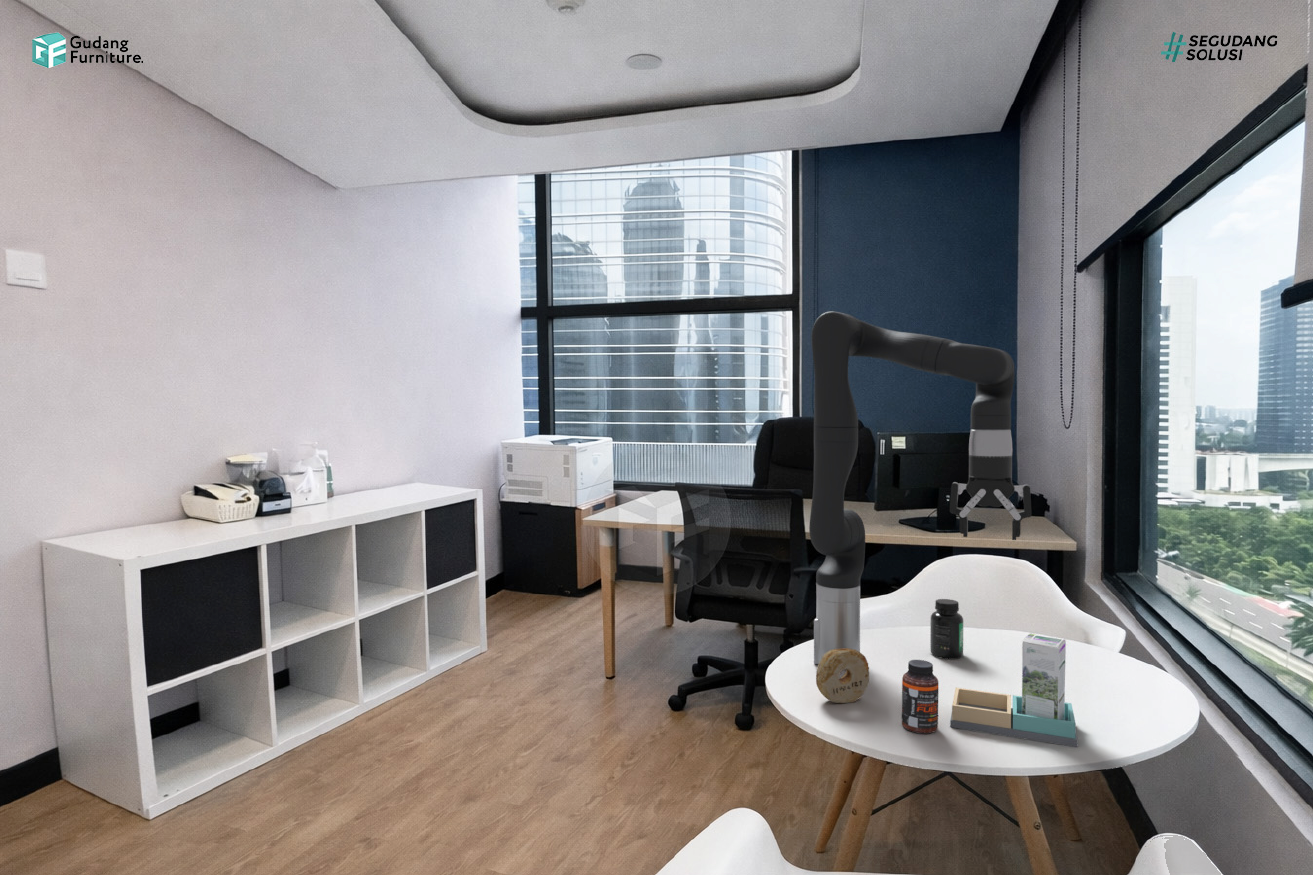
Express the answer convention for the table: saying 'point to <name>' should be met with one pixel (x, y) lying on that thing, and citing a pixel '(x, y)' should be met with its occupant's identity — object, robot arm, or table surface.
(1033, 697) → the syrup box
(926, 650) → the table surface
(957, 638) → the supplement bottle
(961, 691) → the teal and wood tray
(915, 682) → the supplement bottle
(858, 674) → the stone disc
